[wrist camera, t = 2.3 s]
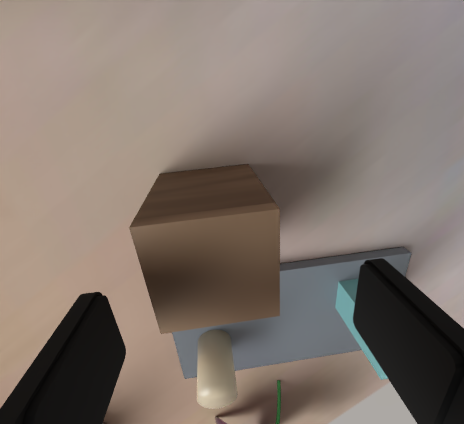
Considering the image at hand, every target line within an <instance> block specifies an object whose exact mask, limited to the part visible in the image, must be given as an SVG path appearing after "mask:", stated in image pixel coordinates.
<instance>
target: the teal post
mask: <svg viewBox="0 0 464 424" xmlns="http://www.w3.org/2000/svg"><path fill="white" fill-rule="evenodd" d="M357 285H358V279H353V280H346V281H339V282H338V290H337V298H336V305H335V308H336V310H337V311H338V313H339V314H340V316H341V317H342V319H343V321H344V322H345V324H346V325H347V327H348V328H349V330H350V332H351V333H352V335H353V336H354V338H355V339H356V341H357V343H358V344H359V346H360V347H361V349H362V350H363V352H364V354H365V355H366V357H367V358H368V360H369V361H370V363H371V365H372V366H373V368H374V369H375V371H376V372H377V374H378V376H379V377H380V379H381V380H382V379H388V377H387V376H386V374H385V373H384V371H383V370H382V368H381V367H380V365H379V364H378V362H377V361H376V359H375V357H374V356H373V354H372V353H371V351H370V350H369V348H368V347H367V345H366V344H365V342H364V340H363V339H362V337H361V336H360V334H359V333H358V331H357V330H356V328H355V326H354V323H353V313H354V306H355V299H356V292H357Z"/></svg>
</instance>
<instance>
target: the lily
mask: <svg viewBox="0 0 464 424" xmlns="http://www.w3.org/2000/svg"><path fill="white" fill-rule="evenodd" d="M277 389H278V400H277V418H276V424H279V421H280V409H281V387H280V381H279V380H277ZM215 420H216V423H217V424H227V423H225V422H224V421H222V420H221V419H220V418H218V417H215Z"/></svg>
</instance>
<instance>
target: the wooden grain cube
mask: <svg viewBox="0 0 464 424" xmlns="http://www.w3.org/2000/svg"><path fill="white" fill-rule="evenodd" d="M129 228H130V232H131V235H132V238H133V242H134V245H135V249H136V252H137V255H138V259H139V262H140V265H141V269H142V272H143V275H144V279H145V282H146V286H147V289H148V292H149V296H150V299H151V302H152V306H153V309H154V313H155V316H156V319H157V323H158V326H159V329H160V333H161V334H164V333H171V332H178V331H184V330H191V329H197V328H204V327H211V326H217V325H224V324H230V323H237V322H244V321H250V320H257V319H263V318H270V317H277V316H280V209H279V207H278V206H277V205H276V203H275V202H274V200H273V199H272V197H271V196H270V195H269V193H268V192H267V190H266V189H265V187H264V186H263V185H262V183H261V182H260V180H259V179H258V177H257V176H256V175H255V173H254V172H253V170H252V169H251V167H250V166H249V165H248V164H244V165H235V166H226V167H217V168H208V169H199V170H190V171H181V172H172V173H163V174H159V176H158V178H157V180H156V181H155V183H154V185H153V187H152V188H151V190H150V192H149V194H148V195H147V197H146V199H145V201H144V202H143V204H142V206H141V208H140V210H139V211H138V213H137V215H136V217H135V218H134V220H133V222H132V224H131V225H130V227H129Z"/></svg>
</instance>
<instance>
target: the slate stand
mask: <svg viewBox="0 0 464 424" xmlns="http://www.w3.org/2000/svg"><path fill="white" fill-rule="evenodd" d="M410 257H411V252H410V251H408V250H407V249H405V248H404V247H399V248H392V249H385V250H377V251H370V252H363V253H356V254H348V255H341V256H334V257H327V258H319V259H312V260H305V261H298V262H290V263H283V264H280V316H277V317H270V318H263V319H257V320H250V321H244V322H237V323H230V324H224V325H217V326H211V327H204V328H197V329H191V330H184V331H178V332H172V334H173V337H174V341H175V345H176V349H177V352H178V356H179V360H180V363H181V367H182V371H183V375H184V378H185V379H187V378H193V377H197V402H198V403H199V404H200V405H201V406H203V407H205V408H210V409H218V408H223V407H226V406H228V405H230V404H231V403H233V402H234V401H235V400H236V398H237V387H236V378H235V371H236V370H242V369H248V368H255V367H261V366H267V365H273V364H279V363H285V362H291V361H297V360H303V359H309V358H316V357H322V356H328V355H334V354H340V353H346V352H352V351H358V350H362V349H361V347H360V346H359V344H358V343H357V341H356V339H355V338H354V336H353V335H352V333H351V332H350V330H349V328H348V327H347V325H346V324H345V322H344V321H343V319H342V317H341V316H340V314H339V313H338V311H337V310H336V308H335V305H336V298H337V290H338V282H339V281H346V280H353V279H358V278H359V271H360V266H361V265H363V264H364V262H365V261H366V260H371V259H379V258H383V259H385V260H386V261H387V262H389V263H390V264H391V265H392V266H393V267H394V268H395V269H397V270H398V271H399V272H400V273H401V274H402V275H403V276H404V277H405V275H406V271H407V268H408V264H409V260H410Z"/></svg>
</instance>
